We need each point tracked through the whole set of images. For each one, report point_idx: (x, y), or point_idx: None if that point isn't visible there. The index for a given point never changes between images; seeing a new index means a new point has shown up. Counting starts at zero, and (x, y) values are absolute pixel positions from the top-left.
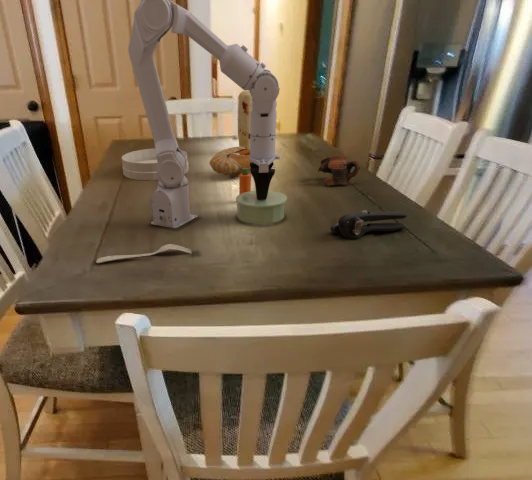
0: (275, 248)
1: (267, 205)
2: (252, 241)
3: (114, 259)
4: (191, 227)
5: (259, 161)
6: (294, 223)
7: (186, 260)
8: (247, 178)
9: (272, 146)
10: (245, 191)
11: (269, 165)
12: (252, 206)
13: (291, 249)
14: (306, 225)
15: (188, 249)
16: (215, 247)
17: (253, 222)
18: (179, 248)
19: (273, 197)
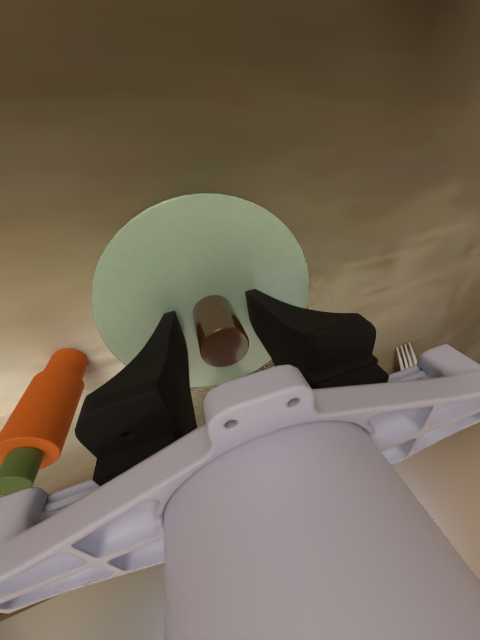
0: (431, 194)
1: (306, 269)
2: (374, 262)
3: None
4: None
5: (413, 441)
6: (243, 140)
7: (421, 346)
8: (50, 429)
9: (448, 557)
10: (76, 389)
11: (169, 395)
12: None
13: (453, 141)
14: (264, 73)
15: (400, 358)
16: (385, 325)
17: None
18: None
19: (203, 265)
